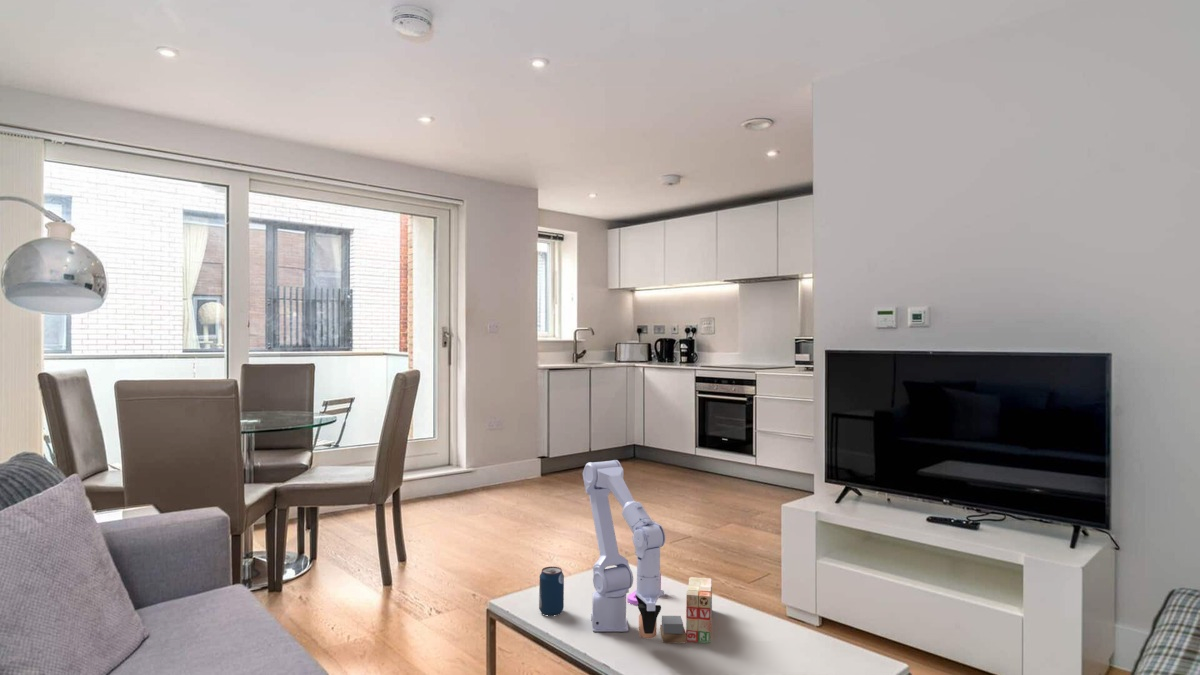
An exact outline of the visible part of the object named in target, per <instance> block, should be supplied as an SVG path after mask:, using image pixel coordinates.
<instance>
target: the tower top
mask: <svg viewBox="0 0 1200 675" xmlns="http://www.w3.org/2000/svg"><path fill="white" fill-rule="evenodd" d="M661 625H662V629H663V633H664V634H683V626H684V622H683V619H682V616H681V615H661Z"/></svg>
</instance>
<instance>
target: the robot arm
mask: <svg viewBox="0 0 1200 675" xmlns="http://www.w3.org/2000/svg"><path fill="white" fill-rule="evenodd" d="M582 478H583V483H584V490H585V493H586V494H587V495H588V496H589V502H590V507H591V508H590V509H591V512H592V513H591V514H592V519H593V523H594V524H593V525H594V530H595V535H596V541H597V547H598V551H599V558H598V559H597V561H596V562H595V563H594V565H592V572H593V573H592V574H593V578H592V583H593V588H594V590H595V591H596V592H595V591H594V592H592V598H591V599H592V602H591V603H592V605H591V606H592V608H591V610H592V612H591V614H590V621H591V623H592V625H591V626H592V631H593V632H596V633H598V632H599V633H602V632H604V633H605V632H611V633H612V632H616V633H617V632H629V626H628V625H629V624H628V620H627V619H628V618H627V594H628V593H630V592H629V591H630V589H631V588H632V587H633V584H634V574H633V572H632V569H631V568H630V565H629V560H628V559H627V558H626V557H624V556H623V555H621V554H620V553H619V547H618V542H617V538H616V533H615V532H616V531H615V528H614V527H615V526H614V522H613V516H612V515H613V514H612V512H611V507H610V506H611V505H610V501H609V495H610V493H611V494H612V495H613V496H614V497H615V499H616V500H617V502H618V503H619V505H621V507H622V512H621V515H622V518H623V519H624V520H625V522H626V524H627V525H628V527H629V528H630V530H631V532H632V533H633V535H632V543H633V545H634V553H635V556H636V589H635V591H636V599H637V601H638V603H639V604H638V605H637V608H638V610H639V612H640V613H639V614H641V616H642V621H643V628H644V633H645V634H653V632H654V628H655V623H656V619H658V616H659V614H660V612H661V610H662V606H661V604H657V602H658V600H659V598H660V597H661V596H663V597H664V596H665V590H664V589H661V590H660V573H661V548H662V547H663V546H664V545H665V543H666V534H665V531H664V528H663V526H662V525H661V524H660V523H657V522H656V521H655V520H653V519H652V518H651V517H650V516H649V513H648V512H647V511H646V509H645V507H644V505H643V504H642V503H641V502H640V501H635V500H634V497H633V495H632V493H631V491H630V489H629V488H628V486H627V483H626V482H625V480H624V468H623V466H622V464H621V463H620V461H619V460H618V459H613V460H605V461H595V462H591V461H590V462H587V463H586V464H585V466H584V468H583V471H582ZM612 566H614V567H612ZM607 567H609V568H607Z"/></svg>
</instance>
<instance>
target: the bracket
mask: <svg viewBox="0 0 1200 675" xmlns="http://www.w3.org/2000/svg"><path fill="white" fill-rule="evenodd" d="M660 590H662V574H661V572H660ZM626 603H628V604H629V603H630V605H632V604H634V606H638V604H639V603H638V601H637V599H636V590H634V591H632V592H631V593H630V594H628V595H626Z"/></svg>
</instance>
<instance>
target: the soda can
mask: <svg viewBox="0 0 1200 675" xmlns="http://www.w3.org/2000/svg"><path fill="white" fill-rule="evenodd" d="M538 586H539V593H538V594H539V595H538V597H539V598H538V608H539V609H538V610H539V612H540V614H542V615H543V614H544V615H543V616H545V615H548V616H547V617H555V616H554V615H557V616H559V615H560V613H561V614H562V613H563V610H564V607H565V603H564V600H565V596H564V595H565V593H564V591H565V575H564V573H563V570H562V568H561V567H559V566H546V567H544V568H543V567H542V569H541V572H540V574H539V585H538ZM558 614H559V615H558Z"/></svg>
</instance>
